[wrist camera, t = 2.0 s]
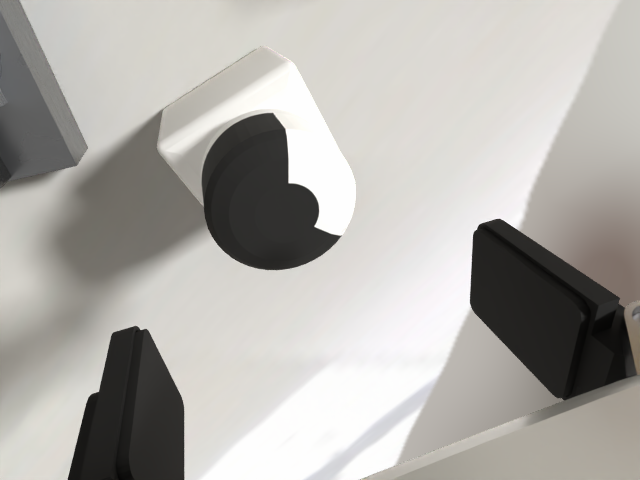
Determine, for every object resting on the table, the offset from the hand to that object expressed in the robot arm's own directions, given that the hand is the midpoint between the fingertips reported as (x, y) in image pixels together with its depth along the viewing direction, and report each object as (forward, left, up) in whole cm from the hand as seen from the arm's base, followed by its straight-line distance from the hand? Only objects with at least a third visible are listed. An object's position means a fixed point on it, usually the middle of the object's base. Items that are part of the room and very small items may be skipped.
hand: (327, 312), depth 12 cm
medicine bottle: (-1, 0, -18) cm, 18 cm away
